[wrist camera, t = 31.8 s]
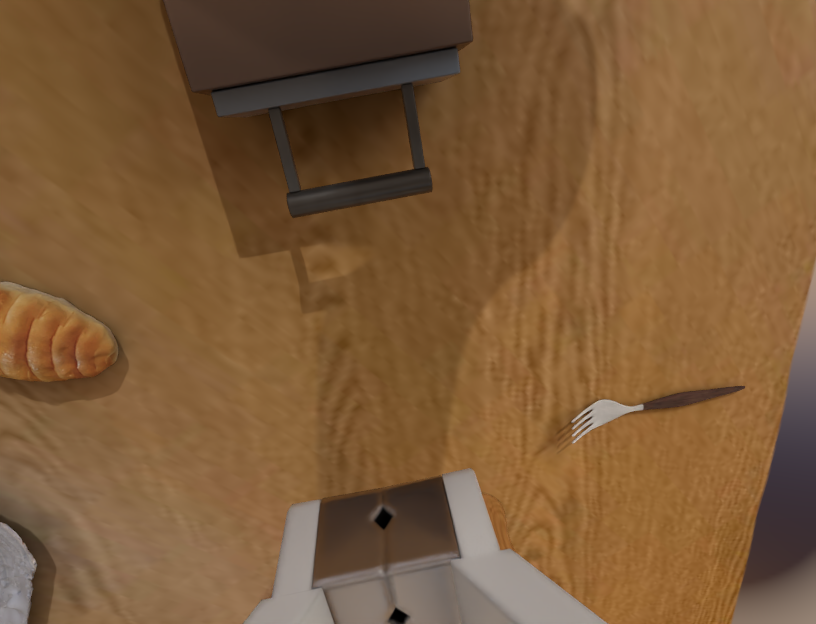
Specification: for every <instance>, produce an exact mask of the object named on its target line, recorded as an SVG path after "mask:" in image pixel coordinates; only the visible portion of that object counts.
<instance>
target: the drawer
mask: <svg viewBox="0 0 816 624" xmlns="http://www.w3.org/2000/svg"><path fill="white" fill-rule="evenodd" d="M459 73H460V65H459V56H458V49H457V47H453V48H447V49H442V50H436V51H431V52H425V53H420V54H414V55H409V56H403V57H398V58H392V59H387V60H381V61H376V62H370V63H365V64H359V65H354V66H348V67H343V68H337V69H332V70H326V71H321V72H315V73H310V74H304V75H298V76H293V77H287V78H282V79H276V80H271V81H265V82H260V83H254V84H249V85H243V86H238V87H232V88H227V89H221V90H216V91H212V92H211V96H212V99H213V102H214V106H215V109H216V112H217V115H218V117H250V116H255V115H261V114H266V113H269V116H270V119H271V123H272V127H273V131H274V135H275V139H276V142H277V146H278V150H279V154H280V158H281V161H282V165H283V169H284V173H285V177H286V181H287V184H288V188H289V193H287V203H288V207H289V211H290V214H291V216H292V217H293V218H296V217H301V216H307V215H312V214H317V213H323V212H328V211H333V210H338V209H344V208H349V207H354V206H360V205H365V204H370V203H376V202H381V201H386V200H392V199H397V198H402V197H407V196H413V195H418V194H423V193H429V192H432V179H431V174H430V170H429V168H428V167H425V162H424V156H423V149H422V142H421V136H420V129H419V122H418V116H417V109H416V102H415V95H414V89H413V87H414V86H419V85H425V84H430V83H436V82H441V81H443V80H445V79H448V78H450V77H452V76H454V75H457V74H459ZM397 89H401V91H402V98H403V104H404V110H405V117H406V123H407V129H408V136H409V142H410V148H411V155H412V161H413V167H414V169H412V170H407V171H401V172H396V173H391V174H385V175H380V176H375V177H369V178H364V179H358V180H353V181H348V182H342V183H337V184H332V185H326V186H321V187H316V188H310V189H305V190H301V186H300V182H299V178H298V174H297V170H296V166H295V162H294V158H293V154H292V150H291V146H290V142H289V138H288V134H287V130H286V126H285V122H284V118H283V114H282V111H283V110H288V109H294V108H299V107H304V106H310V105H315V104H321V103H326V102H332V101H337V100H343V99H348V98H354V97H359V96H365V95H370V94H376V93H381V92H386V91H392V90H397Z"/></svg>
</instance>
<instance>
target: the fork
mask: <svg viewBox="0 0 816 624" xmlns="http://www.w3.org/2000/svg"><path fill="white" fill-rule="evenodd" d="M744 388H745V386H735V387H726V388H718V389H710V390H701V391H690V392H683V393H678V394H674V395H670V396H667V397H663V398H660V399H657V400H654V401H650V402H647V403H644V404H640V405H637V406H625V405H622V404H619V403H617V402H614V401H611V400H606V399H604V400H599V401H597V402H595V403H594V404H592V405H591V406H589V407H588V408H586V409H585V410H584V411H583V412H581V413H580V414H579V415H578V416H577V417H575V418H574V419H573V420H572V421H571V422H572V423H573V422H574V421H575V420H577V419H578V418H579V417H581V416H582V415H583V414H585V413H586V412H588V411H590V410H592V411H591V412H590V413H589V414H588V415H586V416H585V417H584V418H583V419H581V420H580V421H579V422H578V423H577V424H576V425H575V426H573V427H572V429H575V428H576V427H577V426H578V425H579V424H581V423H582V422H584V421H585V420H586V419H588V418H589V417H591V416H592V418H591V419H590V420H589V421H588V422H586V423H585V424H584V425H583V426H581V427H580V428H579V429H578V430H577V431H576V432H575V433H574V434H573V435H572V436H575V435H576V434H577V433H578V432H579V431H581V430H582V429H583V428H585V427H586V426H588V425H589V424H591V423H592V425H591V426H590V427H589V428H587V429H586V430H585V431H584V432H582V433H581V434H580V435H579V436H578V437H577V438H576V439H575V440H574V441H573V442H572V443H575V442H576V441H577V440H578V439H579V438H581V437H582V436H583V435H585V434H586V433H587V432H589V431H590V430H592V429H594V428H596V427H598V426H601V425H603V424H605V423H607V422H609V421H611V420H613V419H615V418H617V417H619V416H621V415H624V414H626V413H629V412H632V411H638V410H648V409H660V408H671V407H679V406H684V405H689V404H692V403H696V402H699V401H703V400H706V399H710V398H714V397H717V396H721V395H725V394H729V393H732V392H736V391H739V390H742V389H744Z"/></svg>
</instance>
